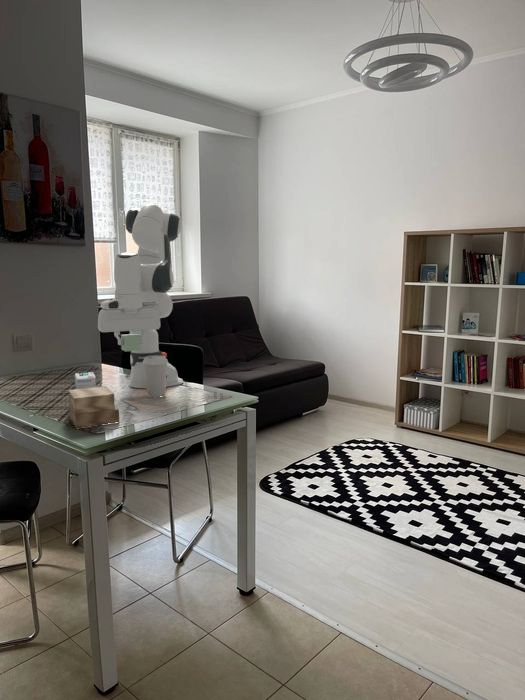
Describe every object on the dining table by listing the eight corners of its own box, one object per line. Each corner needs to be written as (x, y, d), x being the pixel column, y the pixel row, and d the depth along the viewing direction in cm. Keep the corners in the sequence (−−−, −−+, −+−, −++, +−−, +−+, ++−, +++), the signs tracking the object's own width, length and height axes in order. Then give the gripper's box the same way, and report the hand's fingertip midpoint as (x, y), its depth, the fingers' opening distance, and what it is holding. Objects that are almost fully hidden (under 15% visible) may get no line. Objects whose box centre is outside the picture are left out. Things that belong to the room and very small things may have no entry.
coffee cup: (147, 392, 204) (145, 355, 201) (171, 392, 203) (170, 355, 201) (140, 398, 194) (139, 359, 192) (166, 398, 194) (164, 359, 192)
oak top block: (106, 400, 174) (106, 386, 173) (114, 409, 163) (114, 393, 162) (69, 405, 168) (68, 390, 167) (74, 414, 158) (74, 398, 157)
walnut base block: (110, 414, 175) (109, 400, 174) (119, 424, 164) (118, 409, 163) (69, 419, 169) (69, 404, 168) (76, 430, 158) (75, 414, 157)
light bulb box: (75, 401, 190) (73, 373, 188) (94, 400, 193) (93, 371, 191) (77, 409, 180) (75, 378, 178) (97, 407, 183) (96, 377, 181)
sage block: (136, 348, 176) (135, 333, 175) (140, 350, 171) (139, 335, 171) (121, 349, 173) (120, 334, 173) (125, 351, 169) (124, 336, 168)
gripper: (156, 301, 178) (157, 341, 180) (95, 302, 168) (97, 345, 170) (162, 302, 172) (163, 343, 174) (100, 304, 162) (101, 347, 164)
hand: (130, 344), depth 172 cm, fingers closed on sage block, 5 cm apart
